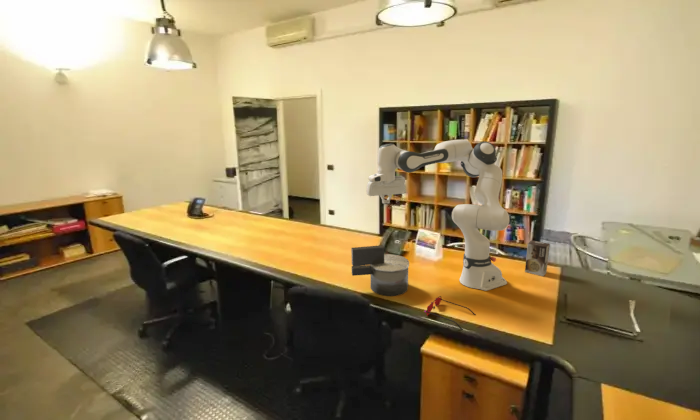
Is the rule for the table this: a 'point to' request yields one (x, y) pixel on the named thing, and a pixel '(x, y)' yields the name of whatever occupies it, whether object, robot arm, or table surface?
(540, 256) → the coffee box
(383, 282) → the pot
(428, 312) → the glasses
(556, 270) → the table surface
